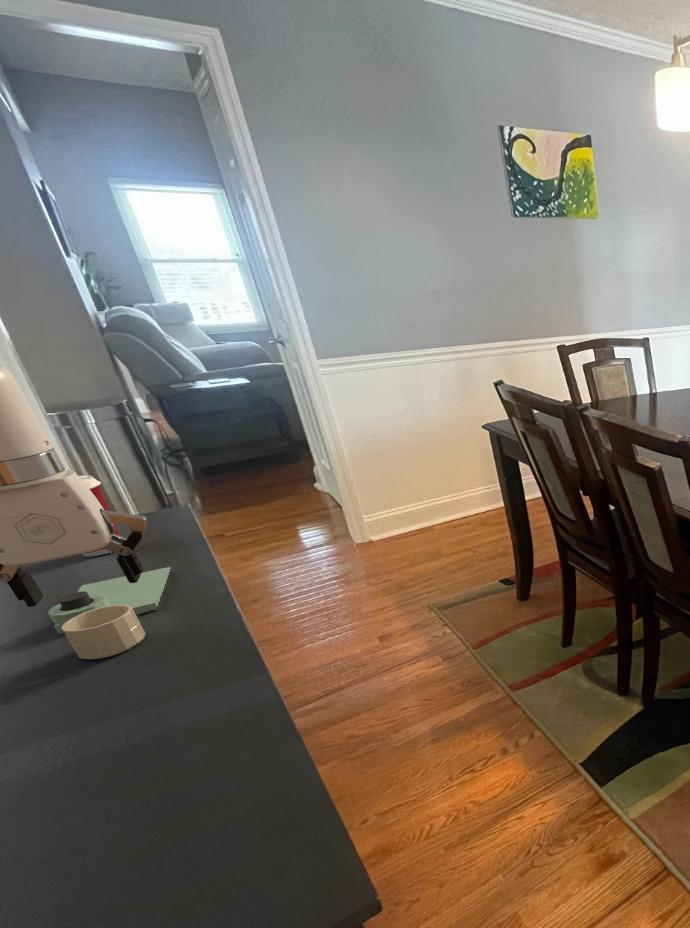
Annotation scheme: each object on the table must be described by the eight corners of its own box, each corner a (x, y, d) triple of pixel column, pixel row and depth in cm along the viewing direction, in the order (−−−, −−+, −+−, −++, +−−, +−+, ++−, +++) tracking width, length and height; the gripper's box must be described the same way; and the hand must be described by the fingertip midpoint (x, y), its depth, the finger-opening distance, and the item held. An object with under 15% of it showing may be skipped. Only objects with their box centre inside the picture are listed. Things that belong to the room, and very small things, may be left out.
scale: (53, 637, 86) (42, 619, 85) (81, 593, 98) (72, 577, 97) (158, 611, 92) (150, 595, 91) (173, 573, 104) (166, 558, 102)
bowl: (73, 668, 79) (54, 637, 77) (86, 644, 84) (69, 614, 82) (142, 650, 83) (125, 620, 81) (150, 628, 88) (135, 599, 86)
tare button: (61, 614, 87) (55, 603, 86) (67, 605, 89) (61, 595, 88) (89, 607, 89) (84, 597, 88) (94, 599, 91) (89, 589, 90)
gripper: (-108, 495, 66) (-18, 625, 73) (106, 462, 74) (167, 581, 82) (-76, 477, 71) (4, 599, 78) (119, 449, 80) (176, 561, 87)
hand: (87, 590), depth 80 cm, fingers open, 9 cm apart
